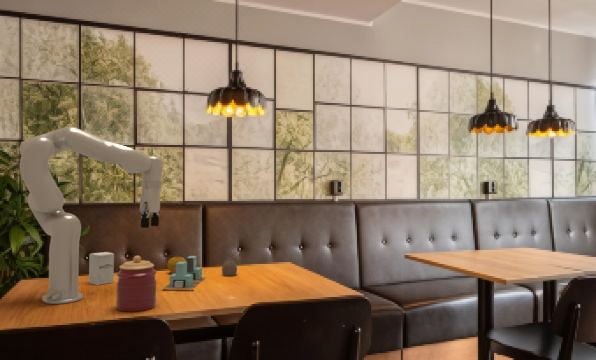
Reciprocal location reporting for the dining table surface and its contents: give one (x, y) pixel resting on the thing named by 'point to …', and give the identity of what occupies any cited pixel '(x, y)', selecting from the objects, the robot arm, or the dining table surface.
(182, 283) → the rail board
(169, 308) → the dining table surface
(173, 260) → the apple
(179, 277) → the teal block toy
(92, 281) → the supplement box
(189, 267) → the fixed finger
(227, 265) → the vase
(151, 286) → the canister
